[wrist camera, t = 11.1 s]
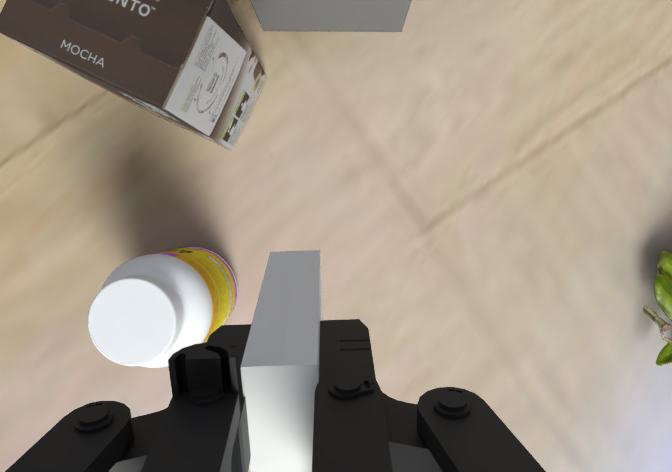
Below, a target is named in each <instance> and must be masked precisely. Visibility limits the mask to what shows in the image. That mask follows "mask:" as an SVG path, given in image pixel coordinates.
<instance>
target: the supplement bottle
mask: <svg viewBox="0 0 672 472" xmlns="http://www.w3.org/2000/svg"><path fill="white" fill-rule="evenodd" d="M237 299H238V285H237V281H236V277H235V275H234V273H233V271H232V269H231V267H230V266H229V265H228V263H227V262H226V261H225V260H224V259H223V258H222V257H220V256H219V255H218V254H216V253H214V252H212V251H210V250H208V249H205V248H200V247H183V248H178V249H173V250H168V251H163V252H158V253H154V254H149V255H144V256H140V257H136V258H133V259H131V260H129V261H127V262H125V263H124V264H122V265H120V266H119V267H118V268H117V269H116V270H114V271H113V272H112V273H111V275H110V276H109V277H108V278H107V280H106V281H105V283H104V285H103V287H102V289H101V291H100V292H99V293H98V294H97V295H96V297H95V298H94V300H93V302H92V304H91V306H90V310H89V314H88V328H89V333H90V336H91V339H92V341H93V343H94V345H95V346H96V348H97V349H98V350H99V351H100V352H101V353H102V354H103V355H104V356H105V357H106V358H108V359H110V360H111V361H113V362H115V363H118V364H121V365H126V366H142V367H149V368H159V367H166V366H169V365H168V359H169V358H170V357H171V356H172V355H173V353H175V352H177V351H179V350H180V349H182V348H184V347H187V346H191V345H194V344H199V343H204V342H205V341H207V340H208V338H209V335H210V334H212V333H213V332H214V331H215V330H216V329H218V328H219V327H220V326H221V325H225V324H226V323H227V321H228V320H229V319H230V317H231V316H232V314H233V312H234V310H235V307H236V304H237Z"/></svg>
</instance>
